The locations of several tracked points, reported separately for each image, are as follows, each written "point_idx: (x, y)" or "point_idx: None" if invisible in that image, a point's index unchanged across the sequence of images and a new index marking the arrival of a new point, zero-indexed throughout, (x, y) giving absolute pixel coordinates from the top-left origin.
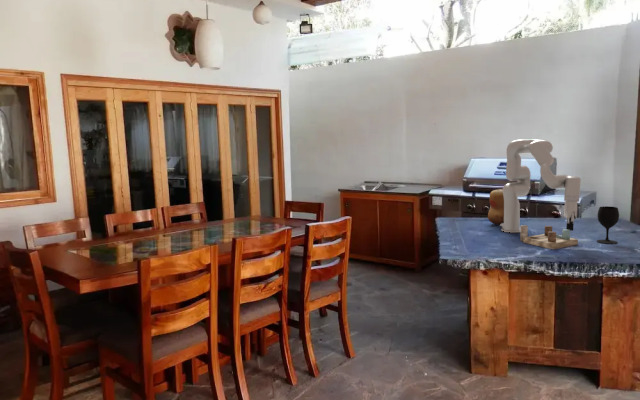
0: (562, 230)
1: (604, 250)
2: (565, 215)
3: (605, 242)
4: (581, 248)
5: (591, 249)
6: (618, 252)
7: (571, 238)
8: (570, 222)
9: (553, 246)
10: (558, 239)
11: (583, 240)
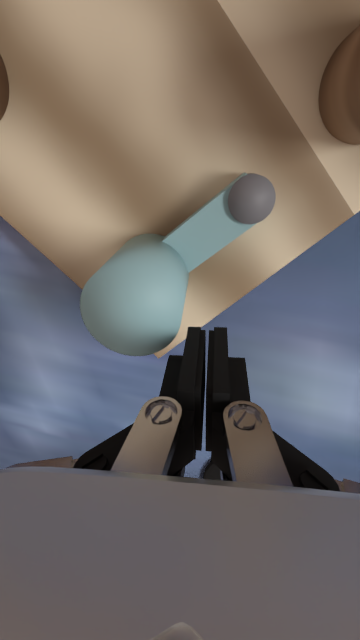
0: (123, 261)
1: (38, 421)
2: (135, 557)
3: (219, 473)
4: (43, 328)
5: (37, 373)
6: (18, 457)
7: (187, 320)
8: (118, 441)
9: None
10: (113, 186)
11: (311, 397)
